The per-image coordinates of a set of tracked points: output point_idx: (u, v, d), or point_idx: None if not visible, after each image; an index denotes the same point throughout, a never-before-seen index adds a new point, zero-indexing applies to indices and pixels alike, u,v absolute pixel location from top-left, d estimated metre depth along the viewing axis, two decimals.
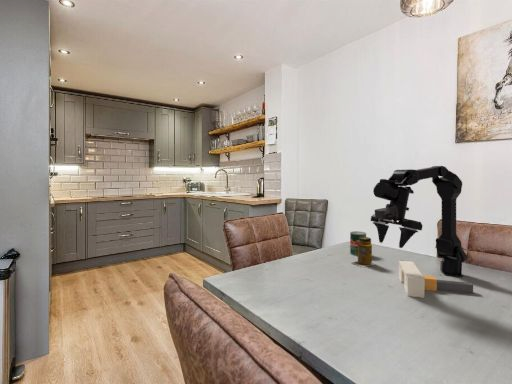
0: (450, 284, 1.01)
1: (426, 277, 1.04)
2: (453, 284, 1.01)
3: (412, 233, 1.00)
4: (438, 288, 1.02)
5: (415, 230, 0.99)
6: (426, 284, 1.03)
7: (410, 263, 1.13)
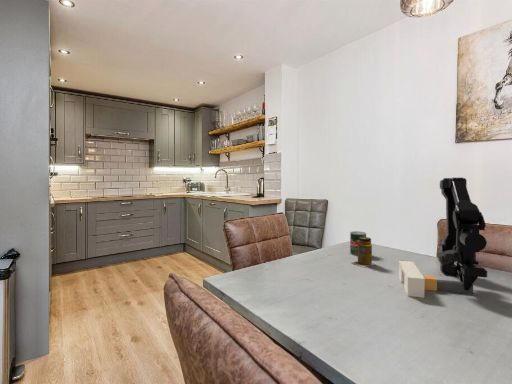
0: (450, 284, 1.01)
1: (426, 277, 1.04)
2: (453, 284, 1.01)
3: None
4: (438, 288, 1.02)
5: None
6: (426, 284, 1.03)
7: (410, 263, 1.13)
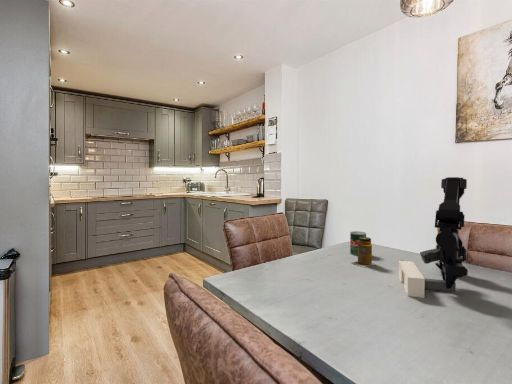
0: (433, 282, 1.03)
1: None
2: (436, 282, 1.03)
3: (457, 274, 0.99)
4: None
5: None
6: None
7: (410, 263, 1.13)
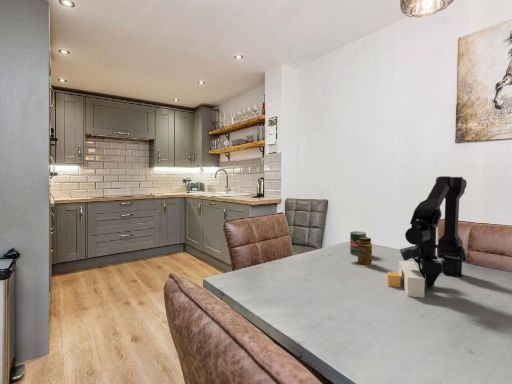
0: None
1: (390, 274, 1.08)
2: None
3: (437, 273, 0.98)
4: (402, 284, 1.06)
5: None
6: (391, 281, 1.07)
7: (410, 263, 1.13)
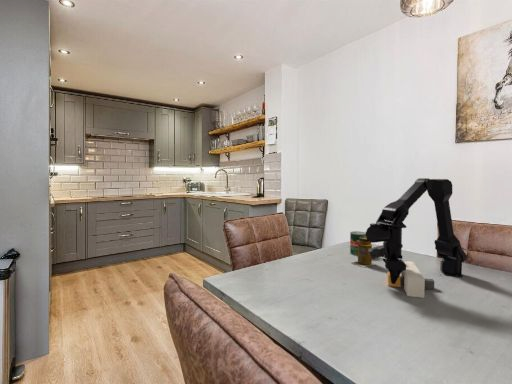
0: None
1: None
2: None
3: (400, 270, 1.03)
4: (402, 284, 1.06)
5: None
6: None
7: (410, 263, 1.13)
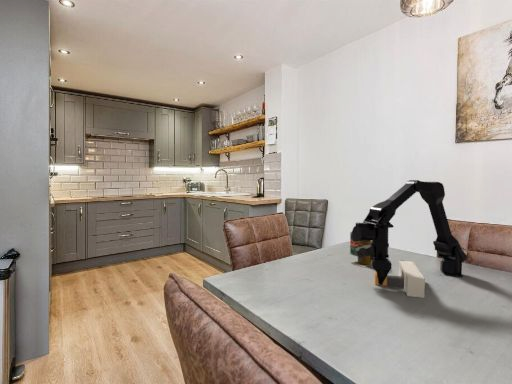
0: (399, 279, 1.06)
1: None
2: (402, 279, 1.06)
3: (387, 271, 1.03)
4: (388, 283, 1.08)
5: (385, 269, 1.01)
6: (377, 279, 1.08)
7: (410, 263, 1.13)
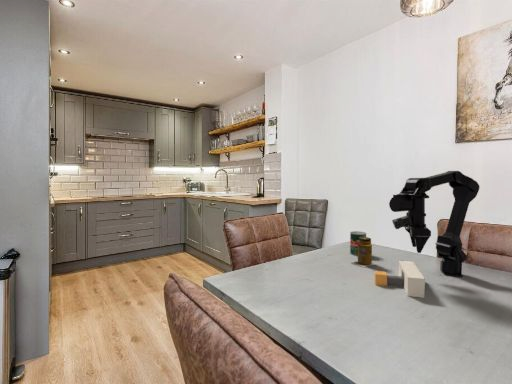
0: (399, 279, 1.06)
1: (377, 273, 1.09)
2: (402, 279, 1.06)
3: (426, 239, 1.07)
4: (388, 283, 1.08)
5: (425, 236, 1.06)
6: (377, 279, 1.08)
7: (410, 263, 1.13)
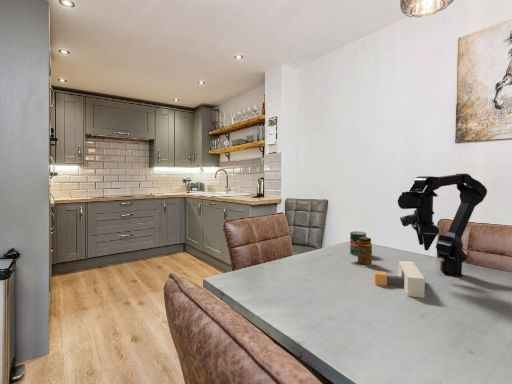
0: (399, 279, 1.06)
1: (377, 273, 1.09)
2: (402, 279, 1.06)
3: (433, 236, 1.08)
4: (388, 283, 1.08)
5: (433, 234, 1.07)
6: (377, 279, 1.08)
7: (410, 263, 1.13)
